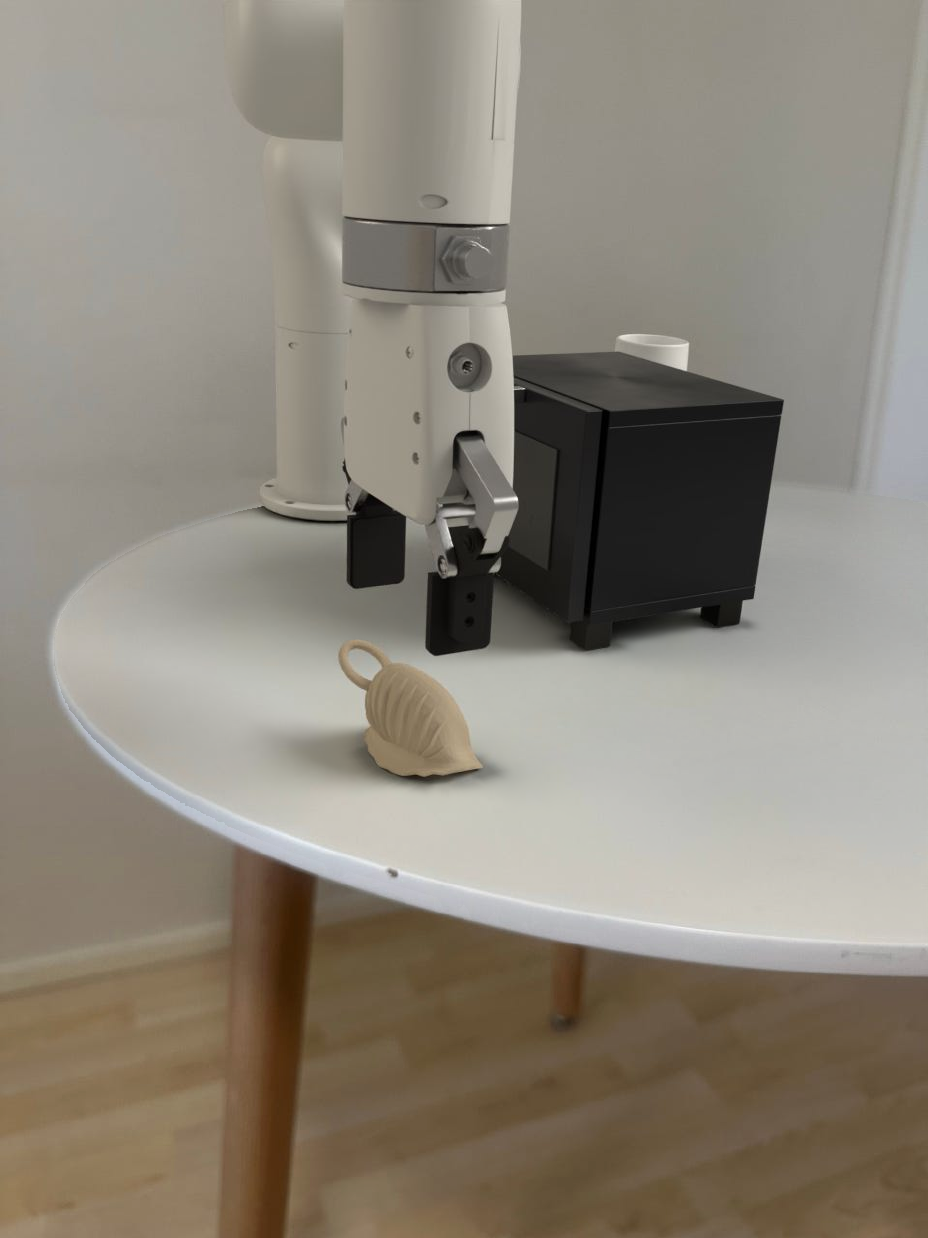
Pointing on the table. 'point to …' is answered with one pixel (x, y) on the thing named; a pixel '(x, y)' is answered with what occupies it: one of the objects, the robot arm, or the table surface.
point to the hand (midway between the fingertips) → (413, 615)
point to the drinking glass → (655, 349)
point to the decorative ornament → (410, 718)
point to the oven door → (551, 499)
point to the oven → (667, 487)
